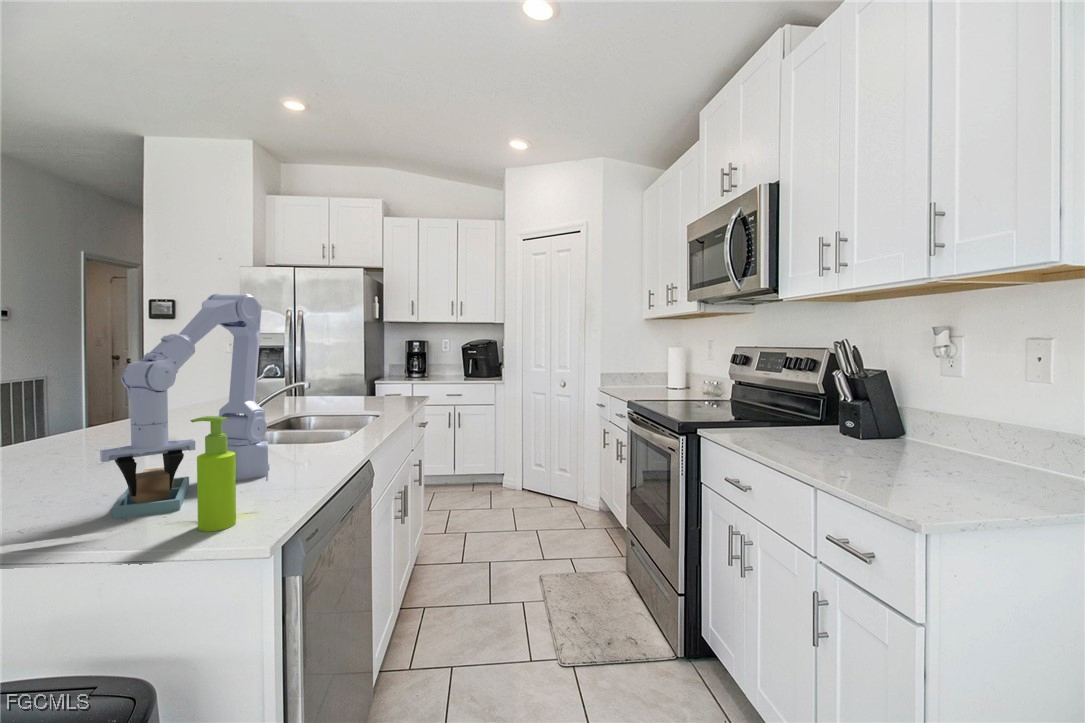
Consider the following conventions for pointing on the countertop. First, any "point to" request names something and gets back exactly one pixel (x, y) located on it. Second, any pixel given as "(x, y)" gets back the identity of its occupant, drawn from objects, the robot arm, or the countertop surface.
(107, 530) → the countertop surface
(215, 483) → the soap dispenser
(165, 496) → the walnut block
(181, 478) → the caddy
